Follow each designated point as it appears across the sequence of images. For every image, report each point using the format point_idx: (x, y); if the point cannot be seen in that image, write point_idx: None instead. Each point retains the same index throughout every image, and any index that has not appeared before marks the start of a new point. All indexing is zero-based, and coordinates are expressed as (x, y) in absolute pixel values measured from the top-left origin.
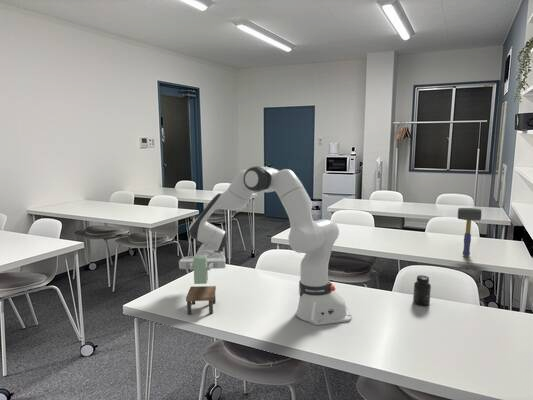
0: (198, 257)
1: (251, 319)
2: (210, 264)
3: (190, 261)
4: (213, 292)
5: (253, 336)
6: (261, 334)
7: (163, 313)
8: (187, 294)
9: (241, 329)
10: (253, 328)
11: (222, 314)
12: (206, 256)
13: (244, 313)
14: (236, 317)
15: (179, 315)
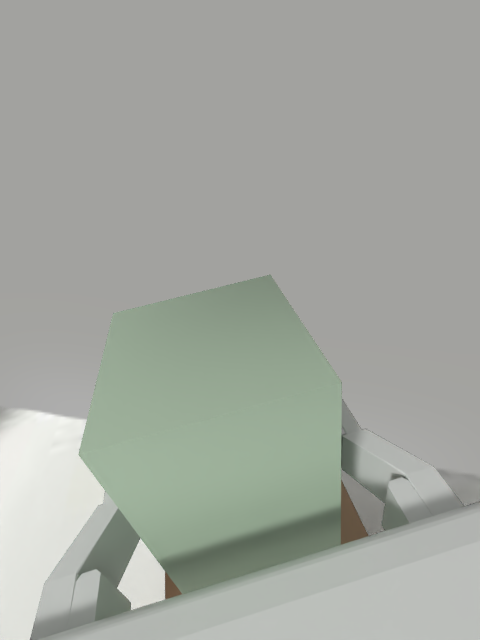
0: (219, 313)
1: (10, 531)
2: (95, 529)
3: (473, 505)
4: (169, 580)
5: (45, 416)
6: (16, 431)
7: (457, 489)
8: (346, 493)
9: (73, 443)
10: (28, 459)
11: (144, 554)
12: (97, 391)
13: (22, 598)
14: (75, 536)
15: (358, 488)
